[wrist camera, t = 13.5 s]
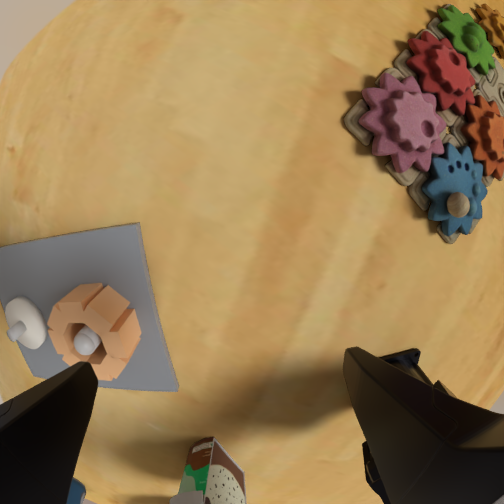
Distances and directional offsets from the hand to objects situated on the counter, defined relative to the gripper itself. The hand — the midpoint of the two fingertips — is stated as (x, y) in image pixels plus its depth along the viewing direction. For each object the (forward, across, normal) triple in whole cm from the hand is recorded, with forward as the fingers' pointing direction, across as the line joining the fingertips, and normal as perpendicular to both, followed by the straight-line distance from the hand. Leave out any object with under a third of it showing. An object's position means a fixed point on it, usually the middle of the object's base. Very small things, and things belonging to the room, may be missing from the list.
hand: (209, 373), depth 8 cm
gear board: (+12, +15, +4) cm, 20 cm away
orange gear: (+11, +11, +4) cm, 16 cm away
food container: (+12, +6, +25) cm, 28 cm away
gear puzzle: (+13, -25, -15) cm, 32 cm away
